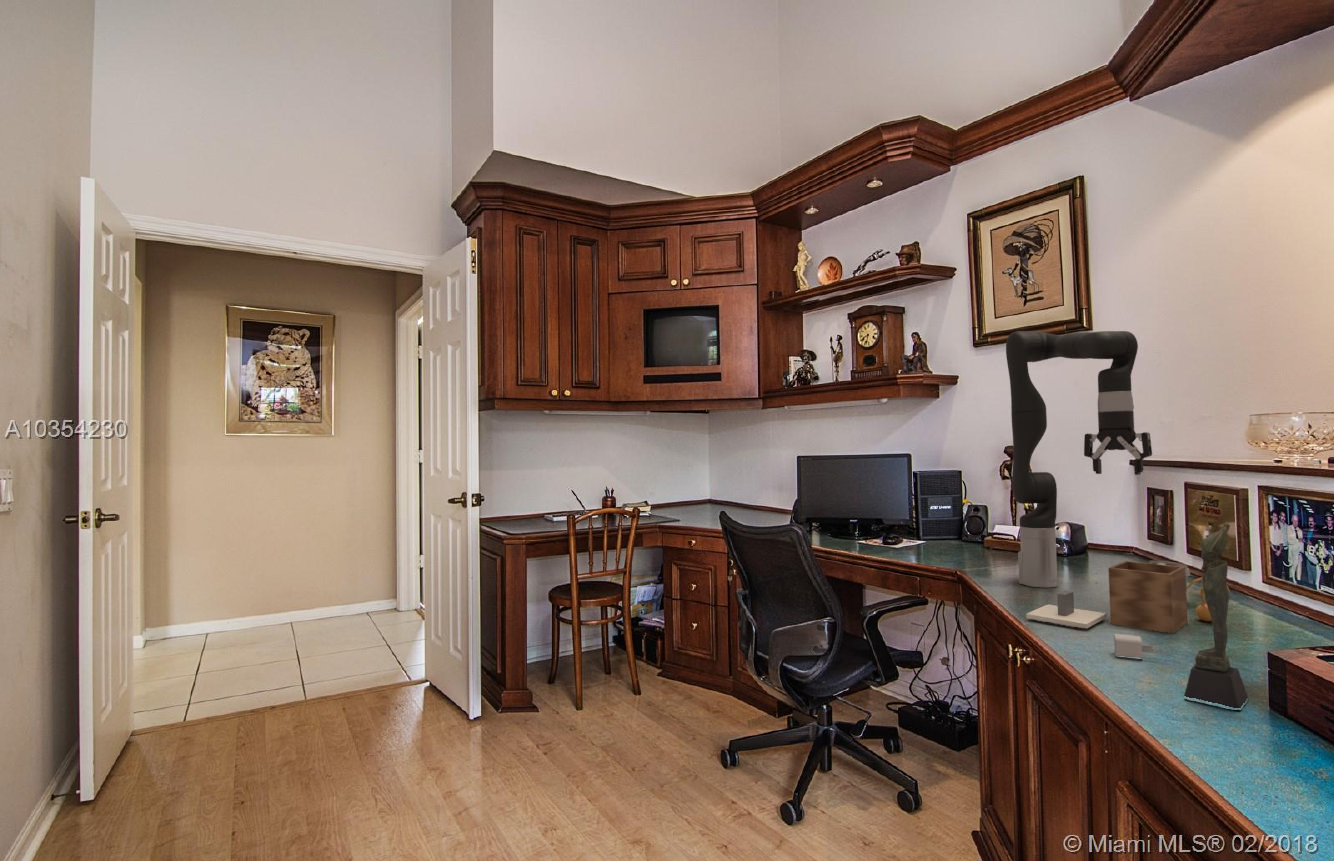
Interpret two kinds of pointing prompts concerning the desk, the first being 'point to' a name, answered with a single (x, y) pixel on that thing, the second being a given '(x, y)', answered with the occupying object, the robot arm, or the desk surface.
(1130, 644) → the usb wall charger
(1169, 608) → the box
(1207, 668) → the statue
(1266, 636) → the desk surface
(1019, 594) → the desk surface
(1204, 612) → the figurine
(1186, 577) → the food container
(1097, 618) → the lid
